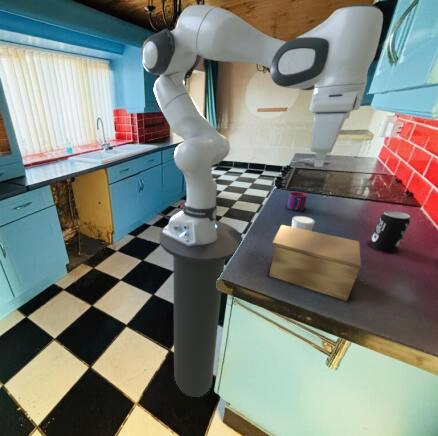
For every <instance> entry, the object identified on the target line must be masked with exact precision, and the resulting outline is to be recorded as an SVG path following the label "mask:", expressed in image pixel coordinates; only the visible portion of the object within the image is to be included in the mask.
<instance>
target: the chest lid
mask: <svg viewBox="0 0 438 436" xmlns="http://www.w3.org/2000/svg"><path fill="white" fill-rule="evenodd" d="M271 246H274V247H275V246H277V247H281V248H285V249H289V250H292V251H296V252H300V253H304V254H307V255H311V256H315V257H319V258H322V259H326V260H330V261H334V262H337V263H341V264H345V265H349V266H352V267H356V268H360V269H361V267H362V261H361V260H362V259H361V247H360V246H361V245H360V241H359V240H354V239H350V238H345V237H342V236H341V237H340V236H336V235H331V234H327V233H322V232H318V231H313V230H312V231H308V230H304V229H299V228H295V227H292V226H290V225H285V224H281V225H280V227H279V229H278V230H277V232H276V234H275V236H274V238H273V241H272V242H271Z"/></svg>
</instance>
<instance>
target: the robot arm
mask: <svg viewBox="0 0 438 436" xmlns="http://www.w3.org/2000/svg"><path fill="white" fill-rule="evenodd" d="M383 21H384V14H383V11H381V9H380V8H379V7H377V6H376V5H373V4H367V3H359V4H357V3H356V4H349V5H345V6H343V7H340V8H338V9H336V10H335V11H334V12H333V13H332V14H331V15H330V16H329V17H328V18H327V19H325V20H324V21H322V22H321V23H320V24H318V25H317V26H315V27H314V28H312V29H311V30H309V31H307V32H305V33H304V34H301V35H299V36H297V37H295V38H292V39H289V40H287V41H285V40H281V39H279V38H275V37H272V36H270V35H267V34H265V33H264V32H262V31H260V30H258V29H257V28H256V27H254V26H252V25H251V24H250V23H249V22H247V21H246V20H244V19H243V18H241V17H240V16H238V15H237V14H235V13H233V12H231V11H230V10H227V9H225V8H221V7H219V6H213V5H209V4H208V5H207V4H192V5H189V6H187V7H185V8H184V9H183V10H182V12H181V13H180V15H179V16H178V19H177V22H176V25H175V27H174V28H173V29H172V30H170V29H168V28H164V29H162V30H160V31H158V32H157V33H154V34H152V35H150V36H148V38H146V40H145V41H144V43H143V45H142V49H141V61H142V65H143V67H144V69H145V70H146V71H147V72H148V73H150V74H152V75H155V76H158V78H157V79H156V80H155V82H154V86H153V92H154V95H155V99H156V101H157V103H158V106H159V109H160V110H161V112H162V114H163V116H164V118H165V120H166V121H167V123H168V125H169V127H170V129H171V130H172V132H173V133H174V134H175V135H177V136H179V137H180V138H182V139H183V141H182V142H181V143H179V144H178V145H177V146H176V148H175V150H174V153H173V159H174V164H175V165H176V167H177V169H178V170H180V171H181V172H182V174H183V177H184V180H185V186H186V200H185V201H184V202H182V204H181V205H180V209H181V210H180V211H178V212H174V213H173V215H172V216H171V217H169V216H167V215H165V214H164V213H161V212H160V211H158V210H155V213H156V214H158V215H159V216H160V217H161V216H162V217H163V218H165V219H167V220H168V224H167V225H165V226H166V227H165V226H164V227H165V228H164V227H163V228H164V229H163V228H162V229H163V234H164V235H166V236H168V237H170V238H172V239H175V240H177V241H179V242H181V243H183V244H185V245H188V246H194V245H203V244H209V243H212V242H214V241H216V240H217V238H218V236H217V232H216V228H217V226H216V224H215V221H216V218H217V214H218V210H217V209H218V204H217V194H218V184H217V182H216V181H215V180H214V177H213V173H212V168H213V166H214V165H218V164H220V163H221V162H222V161H223V160H225V158H227V156H228V155H229V153H230V150H231V144H230V141H229V139H228V138H227V137H226V136H224V135H223V134H221V133H220V132H219V131H217V130H216V128H215V127H214V126H213V125H212V124H211V123H210V122H209V120H208V119H207V118H206V117H205V116H204V114H203V113H202V112H201V110H200V108H199V107H198V105H197V104H196V101H195V100H194V99H193V97H192V95H191V93H190V91H189V90H188V88H187V86H186V83H185V80H188V79H189V78H190V77H192V75H193V72H194V71H195V70H196V69H197V67H198V66H199V64H200V62H201V60H202V58H204V59H207V60H211V61H217V62H227V63H228V62H230V63H231V62H232V63H251V64H256V65H259V66H262V67H265V68H267V69H269V71H270V72H269V73H270V78H271V80H272V82H273V83H274V84H275V85H277V86H279V87H280V88H283V89H295V90H301V91H312V95H311V99H310V104H309V108H308V112H311V113H312V114H314V115H313V120H312V129H311V138H310V151H311V152H312V153H315V157H314V158H315V159H314V161H313V162H314V163H313V167H314V168H322V167H324V164H325V161H326V157H327V155H328V154H329V153H331V152H332V151H333V149H334V148H335V145H336V143H337V140H338V139H339V136H340V133H341V131H342V128H343V125H344V123H345V121H346V119H350V115H351V112H353V111H358V110H359V109H360V108H361V105H362V100H363V98H364V93H365V90H366V87H367V83H368V71H369V69H370V66H371V64H372V62H373V61H374V59H375V57H376V53H377V50H378V47H379V43H380V38H381V34H382V29H383Z"/></svg>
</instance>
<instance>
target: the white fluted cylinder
mask: <svg viewBox="0 0 438 436" xmlns="http://www.w3.org/2000/svg"><path fill="white" fill-rule="evenodd" d="M315 223H316V221H315V220H314V219H313V218H311V217H309V216H305V215H295V216H293V217H292V220H291V227H295V228H299V229H304V230H308V231H313V228H314V226H315Z"/></svg>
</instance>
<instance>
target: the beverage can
mask: <svg viewBox="0 0 438 436" xmlns="http://www.w3.org/2000/svg"><path fill="white" fill-rule="evenodd" d="M410 218H411V215H409V214H408V213H405V212H402V211H399V210H385V211H384V212H383V213H382V214H380V217H379V219H378V222H377V224H376V227H375V229H374V231H373V234H372V236H371V239H370V241H369V244H370V245H371V247H373V248H374V249H377V250H379V251H382V252H387V253H388V252H389V253H391V252H394V251H397V250H398V249H399V246H400V244H401V243H402V240H403V238H404V236H405V234H406V232H407V229H408V228H409V224H410V223H411V219H410Z"/></svg>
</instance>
